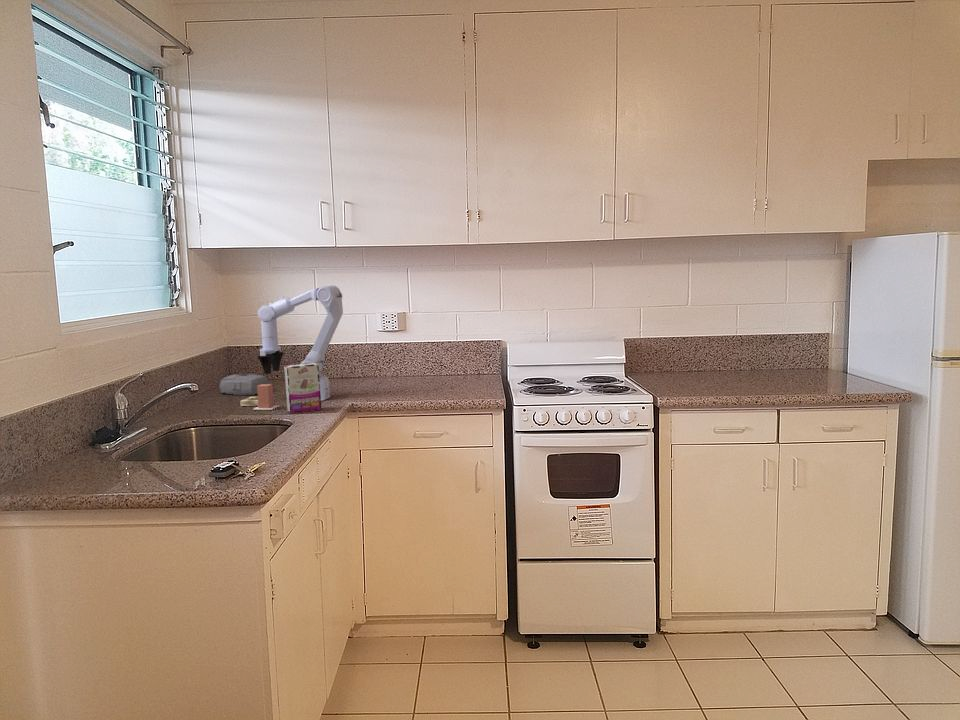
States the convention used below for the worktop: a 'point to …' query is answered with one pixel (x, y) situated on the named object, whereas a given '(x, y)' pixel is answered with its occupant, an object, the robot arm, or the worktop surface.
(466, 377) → the worktop surface
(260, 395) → the peg
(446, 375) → the worktop surface
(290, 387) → the candy bar box
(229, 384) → the grey rounded bag
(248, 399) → the pocket holder
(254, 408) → the mat
